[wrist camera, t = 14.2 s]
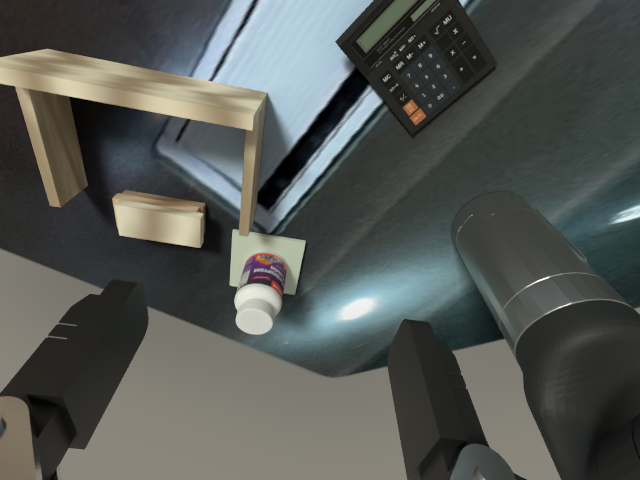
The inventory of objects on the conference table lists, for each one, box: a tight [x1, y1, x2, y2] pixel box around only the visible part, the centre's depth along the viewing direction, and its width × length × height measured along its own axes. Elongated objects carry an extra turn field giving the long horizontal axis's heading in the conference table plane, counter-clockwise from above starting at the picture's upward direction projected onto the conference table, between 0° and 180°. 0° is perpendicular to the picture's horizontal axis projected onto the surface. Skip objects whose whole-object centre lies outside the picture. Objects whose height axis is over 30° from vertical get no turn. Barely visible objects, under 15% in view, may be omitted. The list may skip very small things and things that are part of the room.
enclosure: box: [0, 49, 267, 237], centre depth 33 cm, size 20×14×8 cm
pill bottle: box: [235, 250, 287, 335], centre depth 41 cm, size 5×5×10 cm
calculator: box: [336, 0, 497, 135], centre depth 30 cm, size 9×12×3 cm
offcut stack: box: [112, 190, 205, 248], centre depth 40 cm, size 10×4×4 cm, turn 79°
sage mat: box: [230, 229, 306, 295], centre depth 45 cm, size 9×9×1 cm
